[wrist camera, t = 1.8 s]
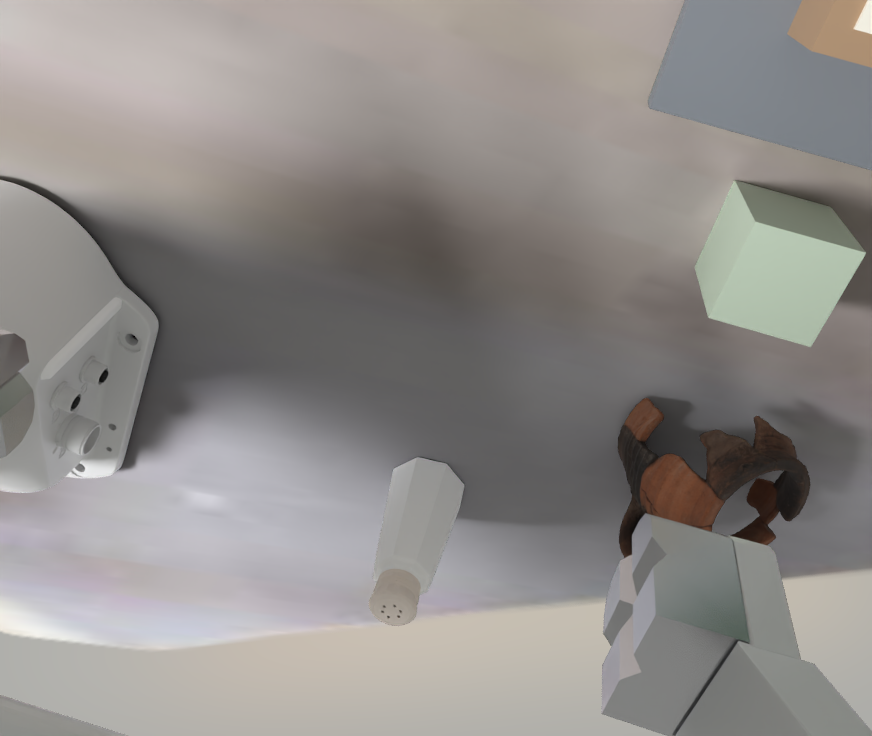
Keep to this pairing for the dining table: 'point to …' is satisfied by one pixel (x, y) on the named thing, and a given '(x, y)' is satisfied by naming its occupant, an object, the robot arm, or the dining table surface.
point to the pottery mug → (709, 478)
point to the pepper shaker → (413, 536)
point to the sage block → (776, 263)
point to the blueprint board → (775, 73)
